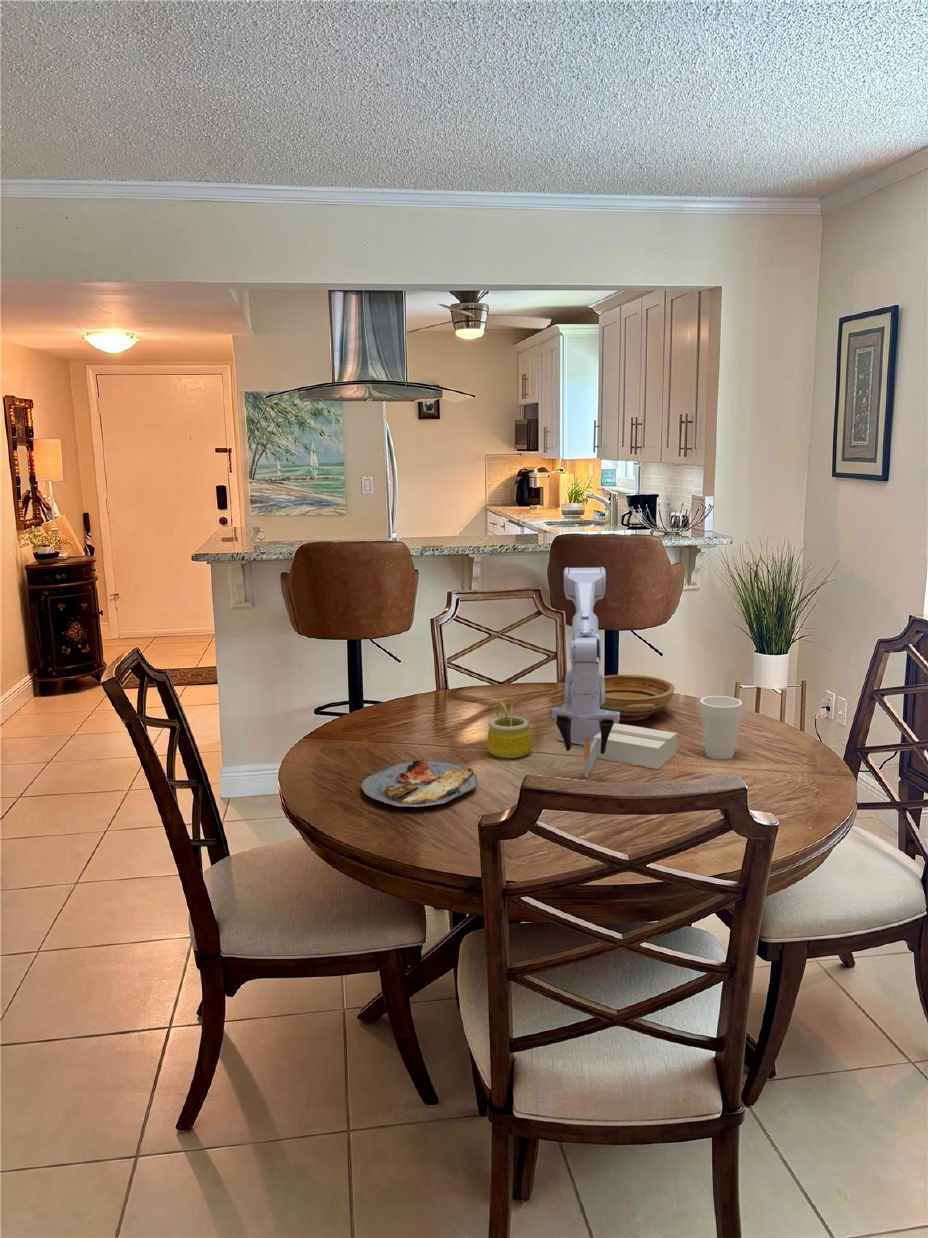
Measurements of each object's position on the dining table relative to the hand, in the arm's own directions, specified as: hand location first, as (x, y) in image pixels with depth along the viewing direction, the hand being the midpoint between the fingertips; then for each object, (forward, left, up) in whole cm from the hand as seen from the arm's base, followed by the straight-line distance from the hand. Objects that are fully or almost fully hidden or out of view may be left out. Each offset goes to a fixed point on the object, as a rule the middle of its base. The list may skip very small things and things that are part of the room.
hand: (585, 750), depth 195 cm
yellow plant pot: (-23, +7, -7) cm, 25 cm away
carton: (+4, +19, -6) cm, 20 cm away
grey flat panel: (-1, +5, -6) cm, 8 cm away
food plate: (-28, -23, -7) cm, 37 cm away
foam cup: (+21, +29, -7) cm, 36 cm away
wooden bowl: (-10, +48, -7) cm, 49 cm away
